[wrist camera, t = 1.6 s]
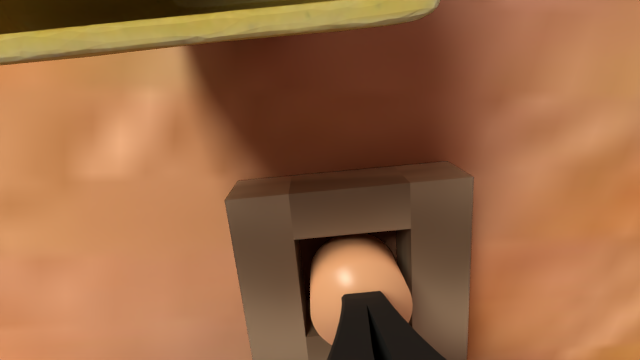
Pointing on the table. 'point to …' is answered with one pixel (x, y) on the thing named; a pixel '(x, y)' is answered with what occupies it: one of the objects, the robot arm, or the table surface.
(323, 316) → the orange button
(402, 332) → the robot arm
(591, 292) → the table surface
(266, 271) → the button board
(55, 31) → the flower pot
